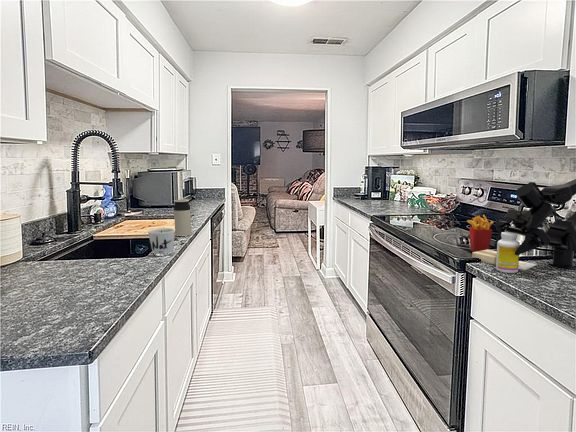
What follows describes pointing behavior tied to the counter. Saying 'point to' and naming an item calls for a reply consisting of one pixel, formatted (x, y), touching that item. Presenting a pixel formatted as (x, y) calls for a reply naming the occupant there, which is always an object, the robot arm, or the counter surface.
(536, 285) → the counter surface
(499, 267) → the supplement bottle
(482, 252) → the base block
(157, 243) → the mug
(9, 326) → the counter surface
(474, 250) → the french fries
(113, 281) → the counter surface
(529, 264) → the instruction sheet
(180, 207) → the travel mug
